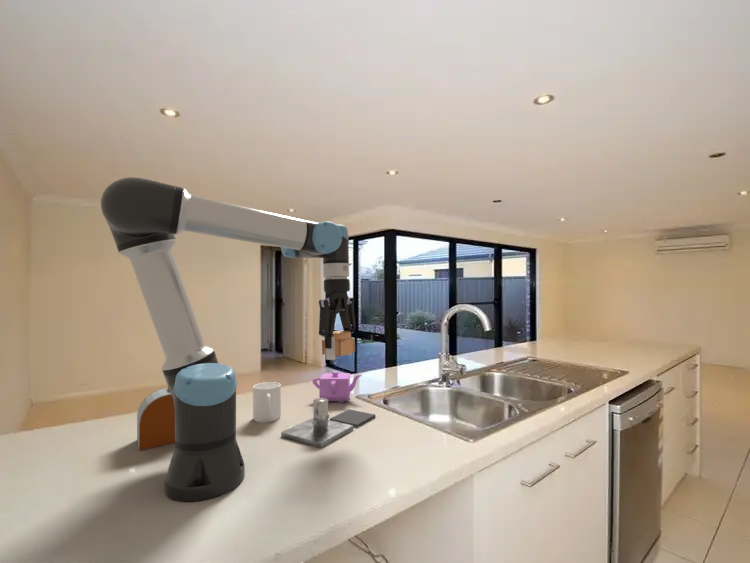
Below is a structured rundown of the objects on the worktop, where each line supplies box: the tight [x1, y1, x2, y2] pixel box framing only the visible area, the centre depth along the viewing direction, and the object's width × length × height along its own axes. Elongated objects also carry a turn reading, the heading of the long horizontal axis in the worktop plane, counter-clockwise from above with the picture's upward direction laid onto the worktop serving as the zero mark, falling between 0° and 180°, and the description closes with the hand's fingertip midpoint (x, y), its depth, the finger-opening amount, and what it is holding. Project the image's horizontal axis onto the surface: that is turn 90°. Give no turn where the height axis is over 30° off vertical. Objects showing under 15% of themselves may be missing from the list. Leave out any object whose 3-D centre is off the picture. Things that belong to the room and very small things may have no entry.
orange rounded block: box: [136, 386, 175, 451], centre depth 101 cm, size 15×8×14 cm, turn 126°
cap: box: [321, 330, 356, 357], centre depth 109 cm, size 7×7×6 cm
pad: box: [329, 409, 376, 428], centre depth 114 cm, size 10×10×1 cm
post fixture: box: [280, 398, 354, 449], centre depth 103 cm, size 14×14×9 cm
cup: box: [252, 381, 282, 424], centre depth 114 cm, size 8×12×10 cm
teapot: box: [312, 370, 363, 404], centre depth 134 cm, size 18×14×10 cm
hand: (339, 357), depth 109 cm, fingers closed on cap, 7 cm apart
